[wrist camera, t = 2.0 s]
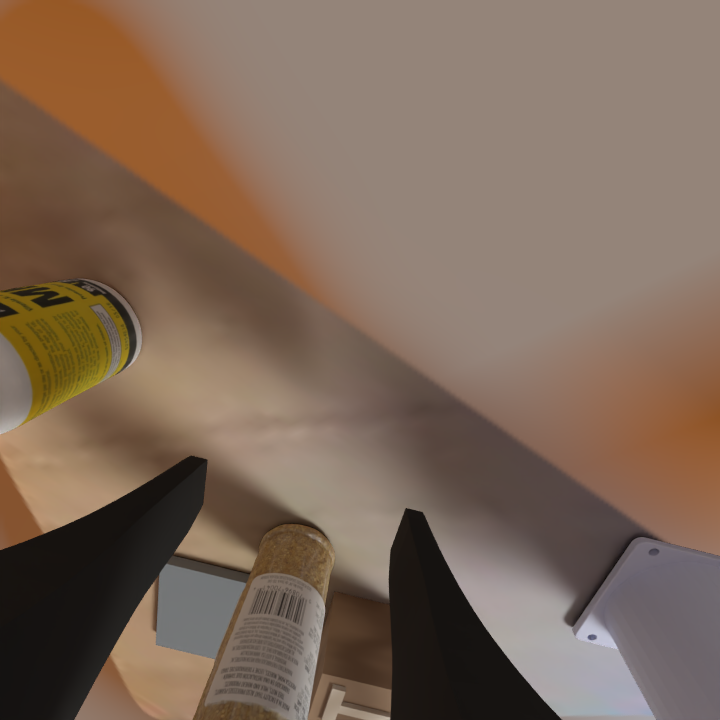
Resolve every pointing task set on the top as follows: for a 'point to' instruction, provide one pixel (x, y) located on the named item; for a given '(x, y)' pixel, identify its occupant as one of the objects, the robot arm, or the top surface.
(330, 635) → the walnut block
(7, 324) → the supplement bottle
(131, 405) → the top surface
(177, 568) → the grey mat
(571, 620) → the top surface
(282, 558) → the sprinkles bottle
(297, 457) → the top surface
